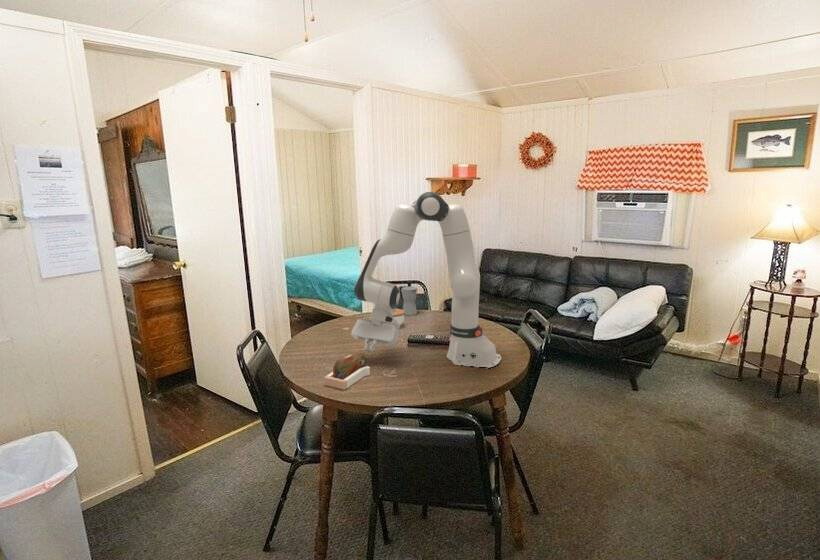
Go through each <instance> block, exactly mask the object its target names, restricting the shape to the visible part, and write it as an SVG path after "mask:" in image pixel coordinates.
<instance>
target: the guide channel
mask: <svg viewBox="0 0 820 560" xmlns="http://www.w3.org/2000/svg"><path fill="white" fill-rule="evenodd" d="M370 375H371V367H370V366H368V365H366V366H365V367H363V368H360V369H358V370H357V371H356V372H354V373H353V374H351V375H350V376H348V377H347V378H345V379H344V380H342V379H338V378H335V377H334V375H333V371H332V372H330V373H329V374H327V375H326V376H324V377H323V385H324V386H328V387H331V388H335V389H339V390H344V391H346V390H347V389H348V388H350V387H351V386H353V385H354V384H356V382H358V381H359V380H362V378H364V377H367V376H370Z"/></svg>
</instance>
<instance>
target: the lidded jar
mask: <svg viewBox="0 0 820 560" xmlns="http://www.w3.org/2000/svg"><path fill="white" fill-rule="evenodd" d="M404 313H405V311H404V310H403V308H402V309H401V308H396V309H395V310H394V312H393V316H392V318H394V319H395V320H396V321H397V322H398V323H399V325H400V326H402V325H403V323H404V321H405V315H404Z"/></svg>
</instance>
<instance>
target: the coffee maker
mask: <svg viewBox="0 0 820 560" xmlns="http://www.w3.org/2000/svg"><path fill="white" fill-rule="evenodd" d="M406 284H407V285H403V286H398V288H399V290H400V293H401V297H400V299H401V300H403V305H402V310H404V311H405V313H404V316H408V317H410V316H415V315H417V314H418V313H417V307H416V299H417V294H418V288H417V287H416V286H412V281H407V282H406Z"/></svg>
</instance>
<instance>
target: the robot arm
mask: <svg viewBox="0 0 820 560" xmlns="http://www.w3.org/2000/svg"><path fill="white" fill-rule="evenodd" d="M422 221H431V222H438V225H439V226H440V229H441V234H442V239H443V244H444V249H445V250H444V251H445V253H446V263H447V264H446V265H447V270H448V271H447V272H448V277H449V283H450V288H451V290H452V297H451V298H452V299H451V311H450V312H451V316H450V317H451V323H450V326H449V337H450V339H449V340H450V341H449V346H448V351H447V354H446V358H447V359H448V360H450V361H451V362H452V364H453V365H455V366H461V365H463V366H464V367H470V366H474V367H473V368H479V367H488V368H489V367H493V366H495V365H497V364H498V363H499V362H500V360H501V361H502V356H501V355H500V354H499V353H497V349H496V345H495V344H494V343H493V342H492V341H491V340H490V339H488V338H487V337H486V336H485V335H484V334H483V332H484V331H483V330H484V326H482V327H481V326H480V324H479V305H480V304H479V303H480V289H481V288H480V286H481V275H480V270H479V268H478V267H477V263H476V258H475V248H474V243H473V237H472V233H471V228H470V224H469V220H468V217H467V214H466V212H465V210H464V208H463V206H461V204H460V205H459V204H456V203H453V204H452V203H451V204H448V202H446V201H445V200H444V199H443V197H442V196H441V195H439V194H438V193H436V192H434V191H424V192H422V193H421V194H420V195H419V196H418V197H417V198H416V200H415V201H414V202H413V203H412V204H409V203H408V204H407V203H401V204H398V205H397V206H396V207H394V209H393V212H392V214H391V216H390V219H389V221H388V226H387V230H386V232H385V235H383V237H382V238H381V239H377V240H376V242H375V243H374V245H373V247H372V248H371V250H370V253H369V255H368V257H367V260H366V261H365V264H364V266H363V268H362V271H361V273H360V275H359V277H358V279H357V281H356V282H355V285H354V287H353V294H354V296H355V297H356V299H358V301H362V302H368V303H372V304H375V305H374V307H373V308H372V310H371V313H370V316H369V318H368V317H367V318H364V317H361V318H359V319H357V320H356V322H355V324H354V326H353V328H352V329H351V333H350V334H351V336H352V337H353V338H354V339H356V340H361V341H364V344H365V347H364V350H365V351H367V352H373V351H374V349H375V348H376V347H377V346H379V344H385V345H391V346H394V345H396V344H397V341H398V339H399V335H400V331H399V330H400V329H401V325H399V323H398V322H397V321H396V320H395V319H394V318H392V316H393V312H394V310H395V309H397V308H398V305H399V302H400V299H401V293H400V290H399V286H397V285H396V284H394V283H390V282H386V281H384V280H383V281H382V280H379V279H376V278H373V274H374V271H375V269H376V267H377V266H378V263H379V261H380V259H382V258H383V257H386V256H390V255H391V256H393V255H398V254H399V255H400V254H404V253H405V252H407V251H409V250H410V249H411V247H412V245H413V242H414V239H415V235H416V232H417V227H418V225H419V224H420V222H422ZM371 342H372V343H371ZM370 344H371V345H370ZM498 357H500V358H498ZM500 363H501V362H500ZM463 366H462V367H463ZM488 368H487V369H488Z"/></svg>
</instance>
